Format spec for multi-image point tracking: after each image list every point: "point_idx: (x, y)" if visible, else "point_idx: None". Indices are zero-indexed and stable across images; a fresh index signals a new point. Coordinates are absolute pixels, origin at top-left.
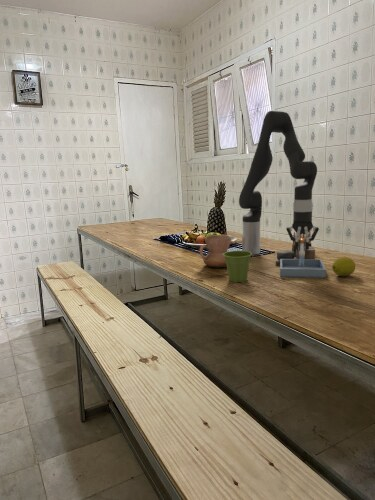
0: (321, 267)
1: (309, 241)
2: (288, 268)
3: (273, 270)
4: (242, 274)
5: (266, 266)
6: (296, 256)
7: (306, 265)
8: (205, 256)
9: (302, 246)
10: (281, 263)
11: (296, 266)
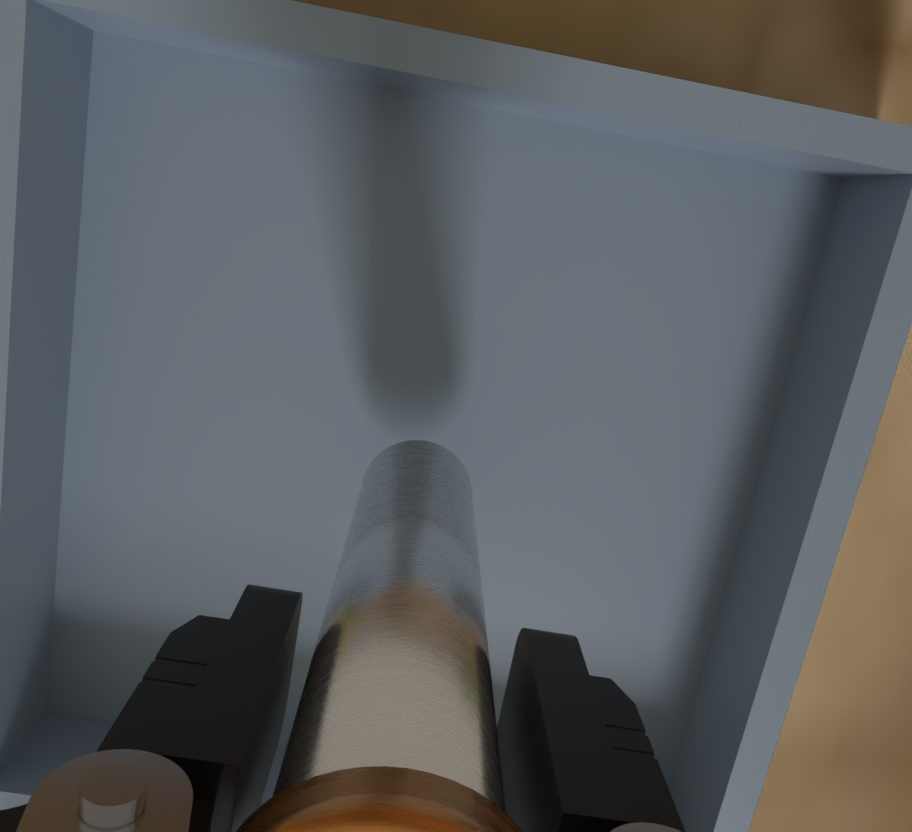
0: (37, 424)
1: (39, 806)
2: (789, 143)
3: (858, 578)
4: None
5: (896, 817)
6: None
7: None
8: None
9: (396, 667)
10: (803, 580)
11: None
